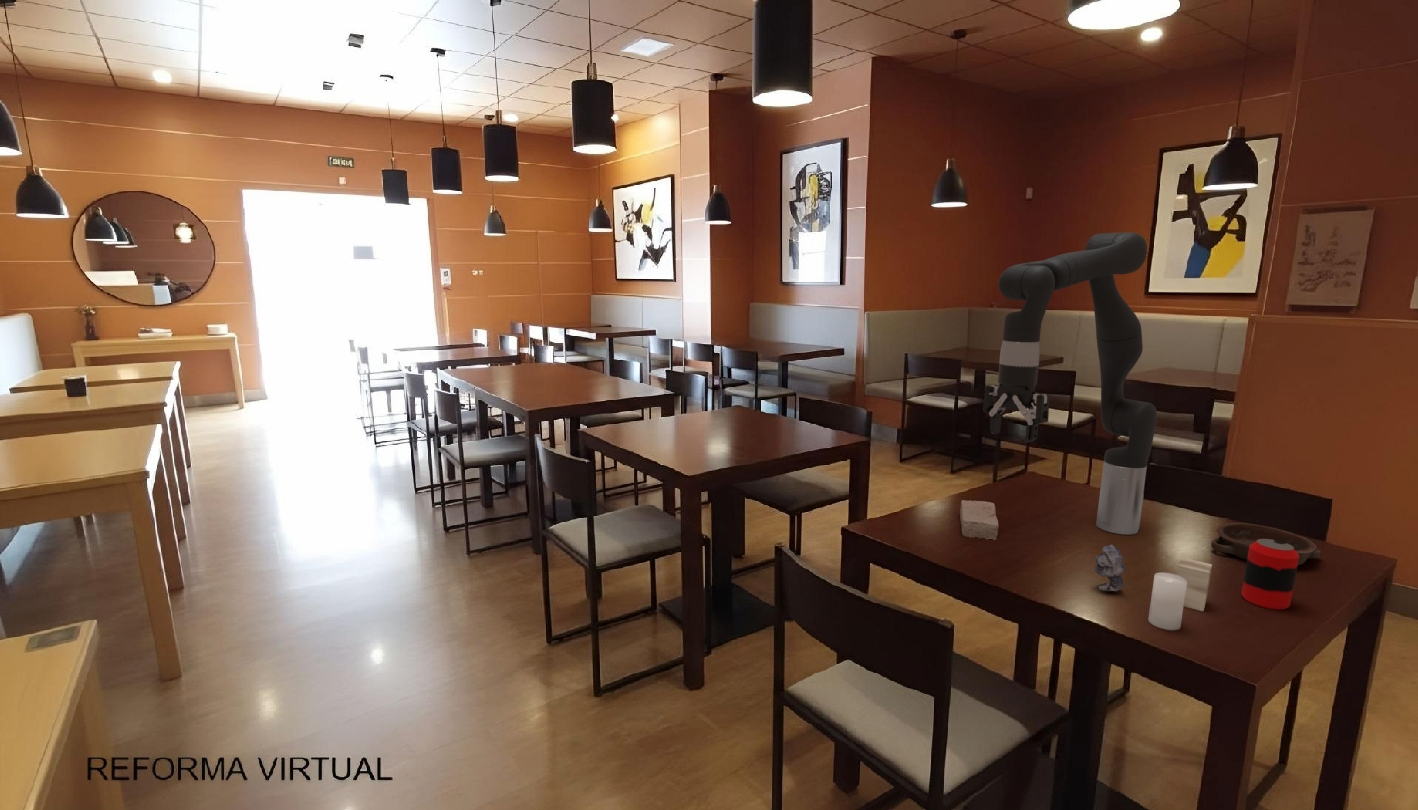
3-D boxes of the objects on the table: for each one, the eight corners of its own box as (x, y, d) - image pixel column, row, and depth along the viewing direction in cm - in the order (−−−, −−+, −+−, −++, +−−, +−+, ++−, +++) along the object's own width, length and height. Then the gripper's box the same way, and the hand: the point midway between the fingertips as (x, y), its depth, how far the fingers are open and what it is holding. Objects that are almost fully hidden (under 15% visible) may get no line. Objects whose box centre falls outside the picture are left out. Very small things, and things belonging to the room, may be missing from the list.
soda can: (1295, 603, 134) (1306, 546, 132) (1281, 614, 130) (1291, 555, 128) (1250, 589, 140) (1259, 534, 138) (1234, 598, 136) (1243, 542, 134)
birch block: (1175, 594, 138) (1181, 557, 136) (1206, 602, 135) (1212, 564, 133) (1172, 603, 134) (1178, 565, 133) (1203, 611, 131) (1209, 572, 129)
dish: (1189, 539, 167) (1192, 520, 166) (1287, 544, 164) (1290, 524, 163) (1233, 569, 150) (1237, 548, 149) (1343, 575, 147) (1348, 554, 146)
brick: (998, 541, 165) (999, 523, 164) (961, 537, 168) (962, 519, 167) (992, 518, 181) (994, 502, 180) (959, 515, 183) (960, 498, 182)
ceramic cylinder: (1157, 614, 130) (1163, 570, 128) (1185, 625, 126) (1192, 580, 124) (1142, 620, 127) (1148, 575, 126) (1171, 632, 123) (1178, 586, 121)
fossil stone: (1112, 598, 136) (1118, 551, 134) (1087, 587, 141) (1092, 542, 139) (1128, 592, 138) (1134, 546, 136) (1103, 582, 143) (1108, 537, 141)
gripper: (1061, 365, 138) (1053, 442, 141) (1001, 357, 150) (995, 428, 153) (1038, 367, 135) (1030, 447, 138) (978, 359, 147) (972, 432, 150)
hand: (1012, 437), depth 146 cm, fingers open, 8 cm apart
